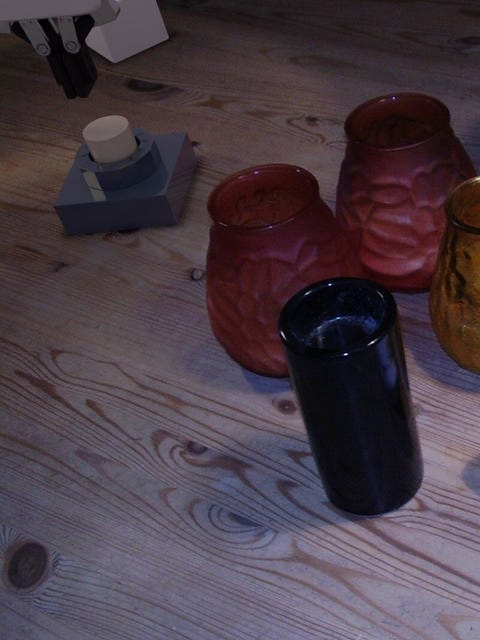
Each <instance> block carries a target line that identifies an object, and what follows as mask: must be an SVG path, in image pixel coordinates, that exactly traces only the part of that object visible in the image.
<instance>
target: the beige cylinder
mask: <svg viewBox="0 0 480 640" xmlns="http://www.w3.org/2000/svg"><path fill="white" fill-rule="evenodd" d="M131 127H132V126H131V125H130V123H129V119H127V118H126V117H124V116H122V115H115V114H113V115H107V116H102V117H100V118H97V119H95V120H92V121H91V122H90V123H88V124H87V125H86V126H85V127H84V128H83V130H82V137H83V139H84V142H86V144H87V146H88V148H89V150H90V153H91V155H92V157H93V159H94V161H95V162H96V163H100V164H105V163H115V162H118V161H120V160H123V159H126V158H128V157H129V156H130V155H132V154H133V153H134V152H136V151H137V150H138V144H137V142H136V139H135V137H134V134H133V132H132V129H131Z"/></svg>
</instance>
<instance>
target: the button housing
mask: <svg viewBox="0 0 480 640" xmlns="http://www.w3.org/2000/svg"><path fill="white" fill-rule="evenodd" d="M130 127H131V129H132V132H133V134H134V137H135V139H136V142H137V144H138V150H137V151H136V152H134V153H133V154H132V155H130V156H129V157H128V158H126V159H123V160H120V161H118V162H115V163H105V164H100V163H96V162H95V161H94V159H93V157H92V155H91V153H90V150H89V148H88V146H87V144H86V142H85V141H82V143H81V145H79V147H78V149H77V150H76V153H75V155H74V157H73V163H72V165H71V167H70V169H69V171H68V173H67V175H66V177H65V178H64V181H63V184H62V186H61V188H60V190H59V192H58V194H57V196H56V199H55V201H54V202H53V205H52V207H53V209H54V211H55V212H56V215H57V217H58V219H59V221H60V223H61V224H62V227H63V228H64V230H65V232H66V234H67V236H73V235H84V234H85V235H86V234H95V233H105V232H115V231H125V230H136V229H144V228H145V229H147V228H156V227H166V226H176V225H178V223H179V219H180V217H181V214H182V211H183V207H184V205H185V201H186V198H187V194H188V192H189V188H190V186H191V182H192V179H193V176H194V172H195V169H196V166H197V163H198V157H197V155H196V152H195V149H194V146H193V145H192V141H191V139H190V136H189V134H188V131H187V130H186V131H175V132H166V133H157V134H151V132H150V130H149V129H145V128H141V127H137V126H130Z"/></svg>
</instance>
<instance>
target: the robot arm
mask: <svg viewBox="0 0 480 640" xmlns="http://www.w3.org/2000/svg"><path fill="white" fill-rule="evenodd" d="M119 13H120V6H119V5H118V3H117V2H116V0H0V34H6V35H12V34H13V35H15V36H16V37H18V38H20V39H21V40H23V41H25V42H26V43H27V44H29V45H31V46H32V47H33V49H34V50H35V51H36V53H37V54H38V55H40V56H43V57H45V59H46V60H47V63H48V66H49V68H50V70H51V73H52V75H53V78H54V79H55V82H56V84H57V85H58V86H60V87H62V90H63V92H64V94H65V97H66V99H67V100H75V99H76V98H77V97H79V98H80V99H86V98H89V96H90V94H91V93H92V90H93V88H94V86H95V84H96V82H97V81H98V77H99V75H98V70H97V67H96V65H95V62H94V60H93V57H92V55H91V52H90V50H89V49H90V48H89V46H87V44H86V41H85V39H86V38H87V36H88V34H89V33H90V31H91V29H92V28H94V27H96V26H101V25H104V24H106V23H109V22H112V21H114V20H116V18H117V16H118V14H119ZM53 19H57V24H58V27H57V25H56V24H55V22H54V20H53ZM58 28H59V29H58Z"/></svg>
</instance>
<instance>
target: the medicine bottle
mask: <svg viewBox="0 0 480 640" xmlns="http://www.w3.org/2000/svg"><path fill="white" fill-rule="evenodd" d="M116 2H117V3H118V5H119V6H120V13H119V14H118V16H117V18H116V20H114V21H112V22H109V23H106V24H104V25H101V26H96V27H94V28H92V29H91V31H90V33H89V34H88V36H87V38H86V39H85V41H86V44H87V46H88V48H89V49H91V50H94V52H96V53H98V54H99V55H101V56H103V57H104V58H105V59H107V60H108V61H109V62H111V63H113V64H117V63H119V62H121V61H124V60H126V59H128V58H130V57H132V56H135V55H137V54H139V53H141V52H143V51H146V50H147V49H149V48H152V47H154V46H156V45H158V44H160V43H162V42H164V41H167V40H169V37H170V36H169V34H168V31H167V29H166V25H165V22H164V20H163V17H162V13H161V10H160V8H159V6H158V2H157V0H116Z"/></svg>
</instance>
